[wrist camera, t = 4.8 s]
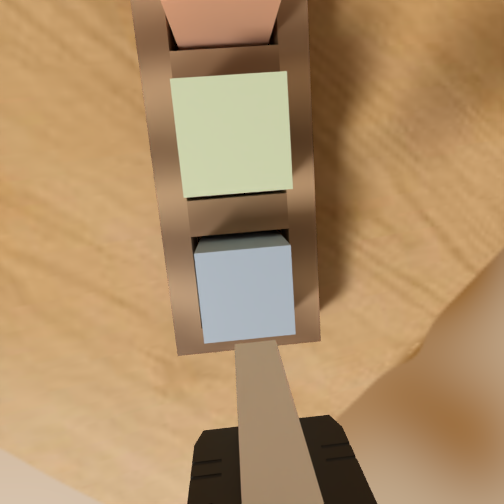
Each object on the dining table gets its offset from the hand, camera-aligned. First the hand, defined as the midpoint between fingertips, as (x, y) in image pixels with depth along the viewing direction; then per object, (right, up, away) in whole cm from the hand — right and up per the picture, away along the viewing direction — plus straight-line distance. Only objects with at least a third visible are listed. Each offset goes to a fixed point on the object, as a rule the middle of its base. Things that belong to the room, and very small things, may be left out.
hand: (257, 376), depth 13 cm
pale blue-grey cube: (-1, +3, +16) cm, 17 cm away
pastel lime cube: (-2, +12, +13) cm, 18 cm away
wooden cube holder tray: (-2, +13, +15) cm, 19 cm away
